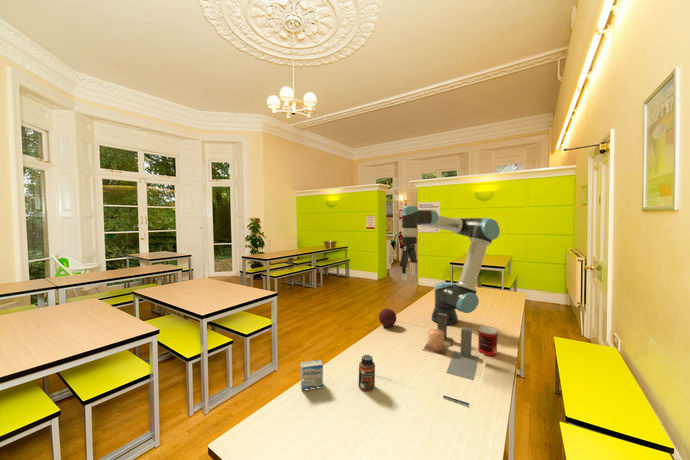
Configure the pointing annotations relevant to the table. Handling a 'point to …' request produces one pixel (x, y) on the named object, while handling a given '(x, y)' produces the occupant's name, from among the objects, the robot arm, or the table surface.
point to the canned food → (487, 341)
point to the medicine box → (311, 374)
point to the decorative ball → (387, 317)
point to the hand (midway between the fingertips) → (408, 277)
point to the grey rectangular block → (464, 358)
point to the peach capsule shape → (436, 340)
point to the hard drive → (456, 401)
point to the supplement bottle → (367, 373)
